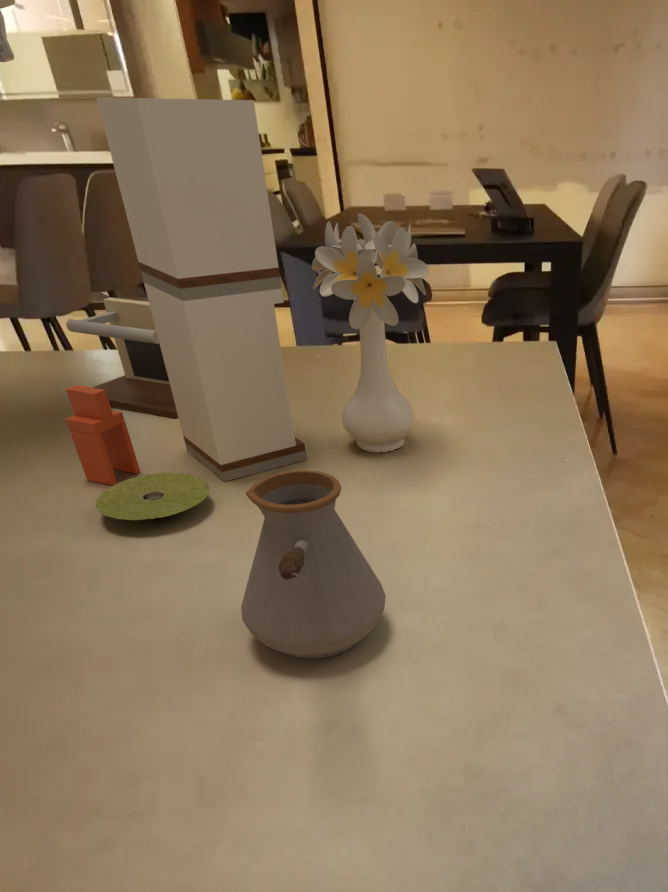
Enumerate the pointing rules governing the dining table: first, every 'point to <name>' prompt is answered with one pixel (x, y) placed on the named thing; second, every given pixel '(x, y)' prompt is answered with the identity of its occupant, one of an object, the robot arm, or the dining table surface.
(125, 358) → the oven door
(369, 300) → the flower vase
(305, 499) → the coffee pot
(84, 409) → the clip
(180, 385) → the white striped pedestal
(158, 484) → the mat
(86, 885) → the dining table surface
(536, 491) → the dining table surface
